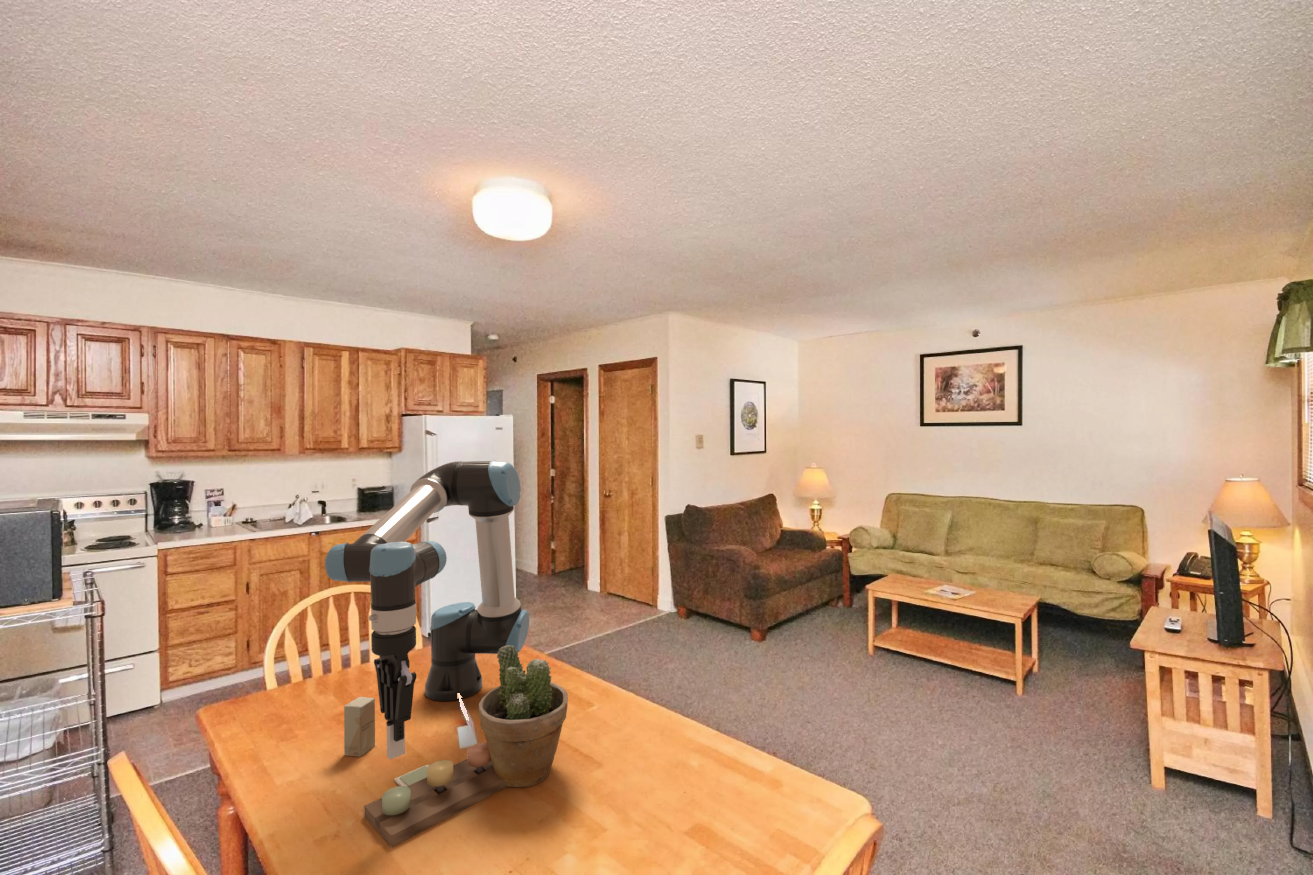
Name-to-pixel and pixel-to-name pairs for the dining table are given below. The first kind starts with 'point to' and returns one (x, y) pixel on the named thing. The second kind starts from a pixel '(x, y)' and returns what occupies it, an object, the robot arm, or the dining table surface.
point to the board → (435, 802)
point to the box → (359, 726)
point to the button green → (396, 800)
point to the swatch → (412, 776)
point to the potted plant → (523, 720)
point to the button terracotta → (478, 756)
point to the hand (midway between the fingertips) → (396, 754)
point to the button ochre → (440, 774)
